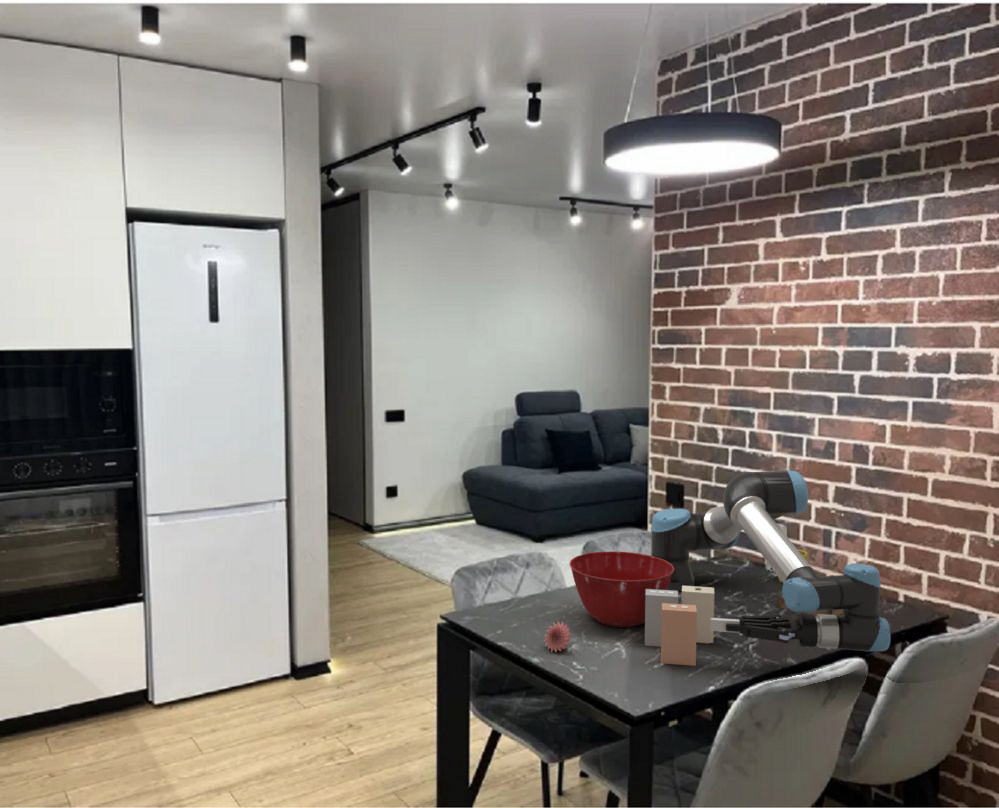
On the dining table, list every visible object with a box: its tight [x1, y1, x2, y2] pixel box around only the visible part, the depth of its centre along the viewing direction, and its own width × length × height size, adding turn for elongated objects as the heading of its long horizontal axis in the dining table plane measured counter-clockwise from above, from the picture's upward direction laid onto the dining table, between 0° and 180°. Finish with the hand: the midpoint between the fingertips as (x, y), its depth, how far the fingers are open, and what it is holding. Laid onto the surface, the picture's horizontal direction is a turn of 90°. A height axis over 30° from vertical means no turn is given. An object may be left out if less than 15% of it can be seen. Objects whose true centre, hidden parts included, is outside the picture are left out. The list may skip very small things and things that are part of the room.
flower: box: [543, 621, 572, 653], centre depth 200 cm, size 8×8×6 cm
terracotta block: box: [660, 603, 697, 667], centre depth 193 cm, size 8×5×13 cm, turn 79°
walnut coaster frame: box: [776, 594, 844, 617], centre depth 234 cm, size 16×18×3 cm
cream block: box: [681, 585, 715, 644], centre depth 207 cm, size 8×5×13 cm, turn 76°
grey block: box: [644, 589, 679, 648], centre depth 204 cm, size 8×5×13 cm, turn 79°
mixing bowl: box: [569, 550, 674, 628], centre depth 222 cm, size 28×28×16 cm
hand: (711, 624), depth 191 cm, fingers closed
